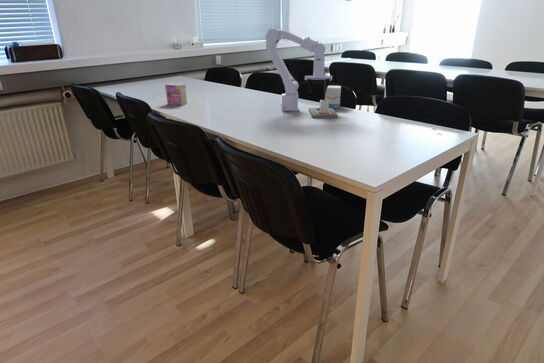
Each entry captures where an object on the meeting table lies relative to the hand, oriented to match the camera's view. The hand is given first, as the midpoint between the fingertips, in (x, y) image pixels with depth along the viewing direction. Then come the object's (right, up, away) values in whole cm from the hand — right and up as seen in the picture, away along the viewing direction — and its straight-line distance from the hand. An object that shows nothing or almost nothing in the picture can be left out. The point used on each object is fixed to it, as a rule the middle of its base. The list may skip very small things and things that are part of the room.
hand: (317, 93), depth 205 cm
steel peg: (+2, -14, -8) cm, 16 cm away
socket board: (+2, -12, -4) cm, 13 cm away
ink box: (+10, -5, +13) cm, 17 cm away
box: (-82, -2, +22) cm, 85 cm away
